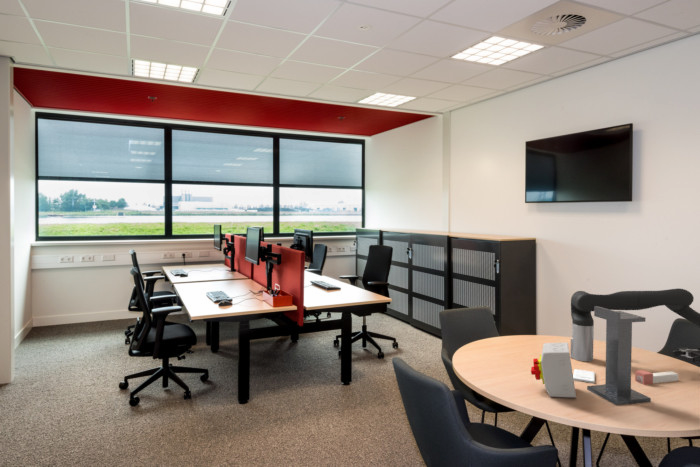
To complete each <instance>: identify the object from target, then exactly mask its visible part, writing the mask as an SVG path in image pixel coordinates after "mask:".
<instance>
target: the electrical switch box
mask: <svg viewBox="0 0 700 467" xmlns="http://www.w3.org/2000/svg"><path fill="white" fill-rule="evenodd" d="M532 360H533V362H532V363H533V366H531V367H530V374H531V376H535V380H537V381H538V380H539V381H541V380H542V385H544V388H545V390H546V392H547V393H548V395H549V397H551V398H576V397H577V396H576V394H577V393H576V386H575V380H574V379H573V374H574V372H573V367H572V360H571V357H570V348H569V342H567V341H566V342H544V343H543V346H542V349H541V354H539V359H538V358H533V359H532Z"/></svg>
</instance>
